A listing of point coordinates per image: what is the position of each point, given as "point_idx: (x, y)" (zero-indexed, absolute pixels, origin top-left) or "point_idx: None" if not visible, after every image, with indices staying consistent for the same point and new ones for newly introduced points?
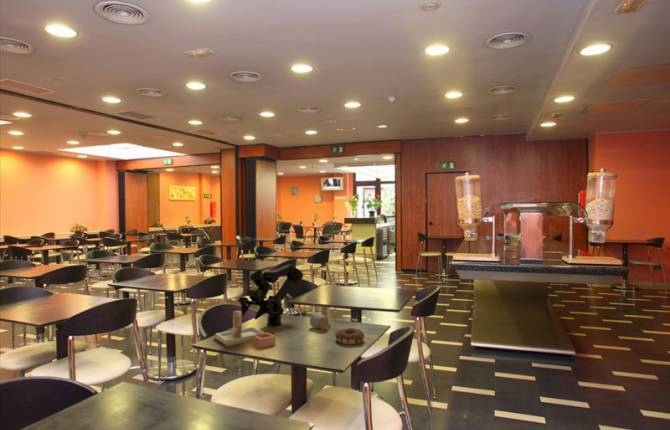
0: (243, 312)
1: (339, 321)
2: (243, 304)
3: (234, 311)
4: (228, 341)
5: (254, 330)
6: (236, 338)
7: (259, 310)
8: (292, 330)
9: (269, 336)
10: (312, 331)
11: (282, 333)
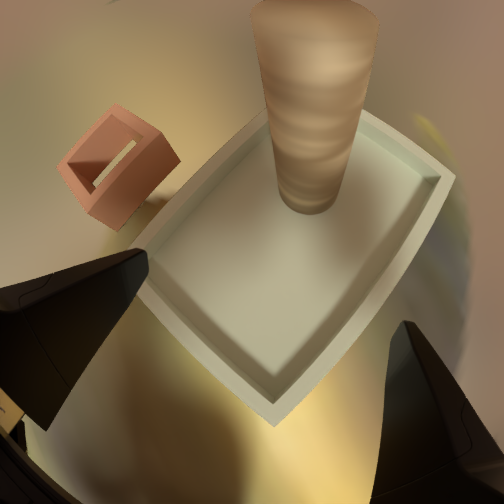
0: (403, 402)
1: None
2: (488, 484)
3: (366, 18)
4: None
5: (244, 375)
6: None
7: (30, 289)
8: (64, 435)
9: (83, 182)
10: None
11: (81, 384)
